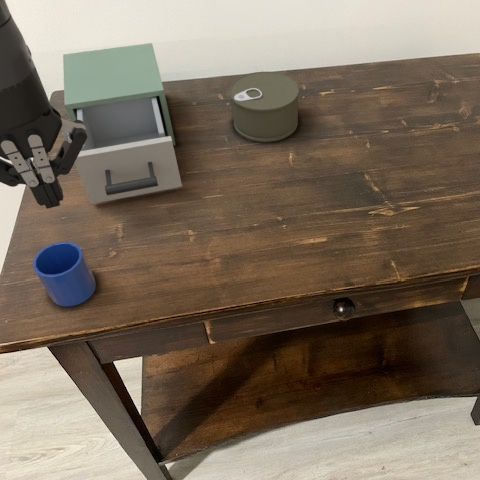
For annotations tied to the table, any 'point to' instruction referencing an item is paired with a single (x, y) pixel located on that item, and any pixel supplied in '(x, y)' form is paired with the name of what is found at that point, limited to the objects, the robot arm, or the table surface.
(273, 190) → the table surface
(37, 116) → the robot arm
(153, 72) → the mint green cabinet box
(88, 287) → the cup
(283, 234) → the table surface
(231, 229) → the table surface
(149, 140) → the drawer
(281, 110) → the can
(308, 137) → the table surface
